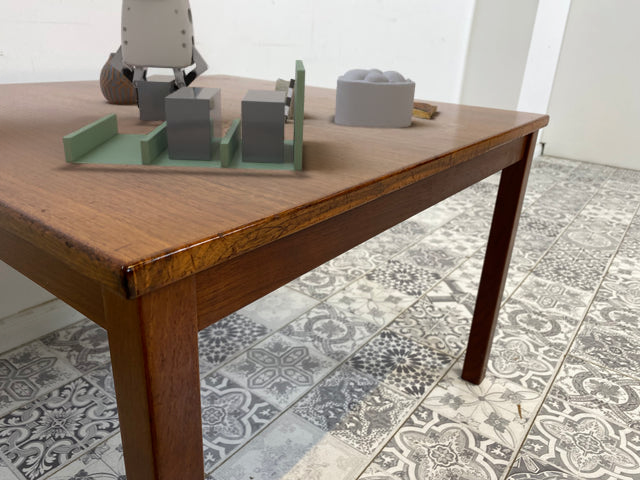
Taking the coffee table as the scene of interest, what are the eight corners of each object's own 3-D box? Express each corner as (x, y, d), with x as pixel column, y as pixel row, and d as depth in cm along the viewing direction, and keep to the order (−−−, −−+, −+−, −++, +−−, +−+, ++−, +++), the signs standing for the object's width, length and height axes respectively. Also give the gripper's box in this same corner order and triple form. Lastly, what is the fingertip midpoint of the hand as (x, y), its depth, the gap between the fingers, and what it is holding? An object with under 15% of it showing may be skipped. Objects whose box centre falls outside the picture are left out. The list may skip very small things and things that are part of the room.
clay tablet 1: (168, 159, 56) (164, 97, 53) (185, 140, 65) (183, 86, 63) (210, 160, 56) (209, 99, 54) (222, 141, 65) (220, 88, 63)
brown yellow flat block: (429, 120, 95) (430, 110, 94) (388, 116, 97) (389, 106, 96) (438, 113, 104) (439, 104, 103) (400, 109, 106) (401, 100, 106)
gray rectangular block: (140, 126, 77) (136, 80, 74) (156, 115, 86) (153, 74, 84) (171, 127, 77) (168, 82, 75) (184, 116, 86) (182, 75, 84)
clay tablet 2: (241, 162, 56) (241, 100, 54) (248, 142, 66) (248, 89, 63) (283, 163, 57) (284, 102, 54) (284, 144, 66) (285, 91, 63)
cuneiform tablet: (285, 124, 84) (258, 111, 94) (309, 128, 86) (280, 115, 96) (294, 79, 82) (266, 71, 92) (318, 85, 84) (288, 76, 94)
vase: (127, 100, 100) (122, 51, 97) (149, 104, 96) (146, 54, 93) (94, 102, 95) (88, 51, 91) (117, 107, 91) (111, 54, 88)
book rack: (66, 171, 53) (51, 58, 49) (112, 141, 67) (103, 50, 63) (301, 179, 55) (305, 70, 51) (299, 148, 69) (302, 60, 64)
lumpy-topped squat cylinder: (336, 116, 94) (339, 65, 91) (408, 120, 94) (413, 70, 91) (333, 126, 85) (336, 70, 82) (413, 131, 84) (420, 75, 81)
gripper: (218, -11, 78) (220, 112, 85) (102, -18, 77) (115, 108, 84) (211, -14, 71) (214, 120, 78) (84, -22, 70) (99, 116, 77)
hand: (163, 113), depth 81 cm, fingers closed on gray rectangular block, 4 cm apart
